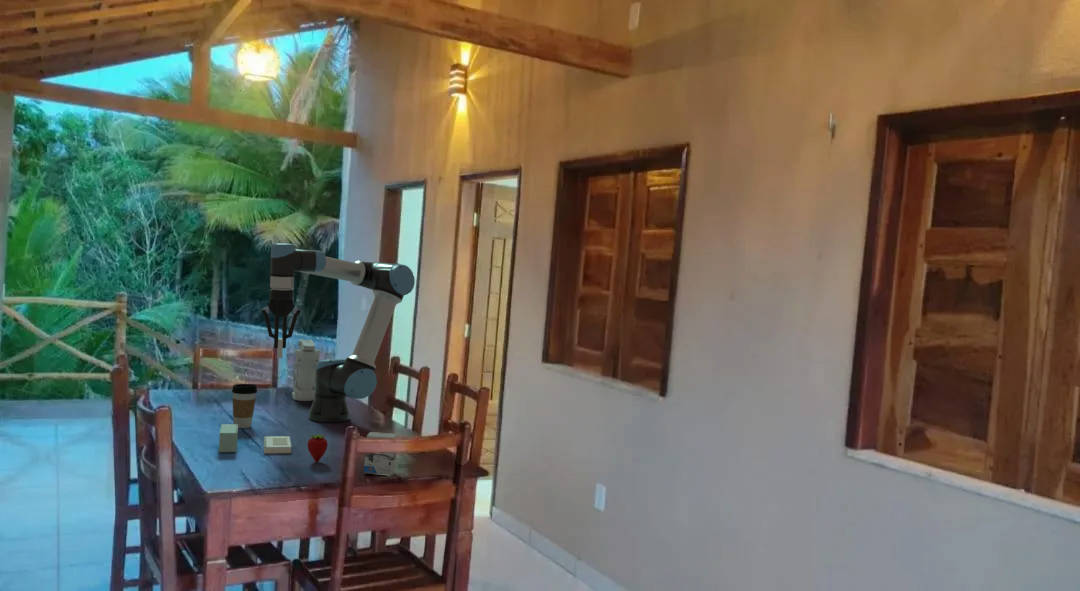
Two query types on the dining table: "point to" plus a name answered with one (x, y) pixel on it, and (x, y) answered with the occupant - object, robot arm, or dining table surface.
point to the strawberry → (317, 446)
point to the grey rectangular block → (228, 438)
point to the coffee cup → (243, 404)
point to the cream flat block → (277, 444)
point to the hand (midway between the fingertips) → (279, 357)
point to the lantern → (305, 371)
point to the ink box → (380, 458)
